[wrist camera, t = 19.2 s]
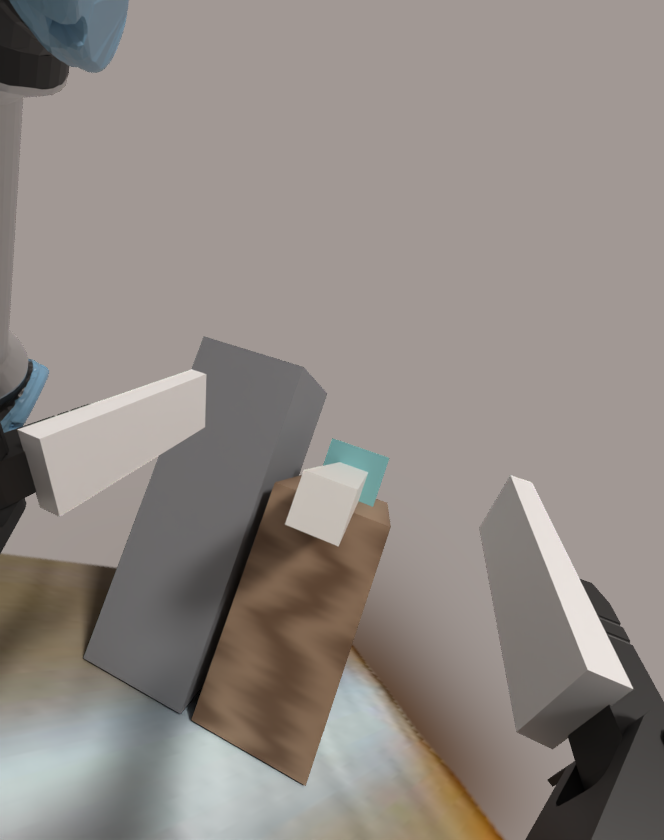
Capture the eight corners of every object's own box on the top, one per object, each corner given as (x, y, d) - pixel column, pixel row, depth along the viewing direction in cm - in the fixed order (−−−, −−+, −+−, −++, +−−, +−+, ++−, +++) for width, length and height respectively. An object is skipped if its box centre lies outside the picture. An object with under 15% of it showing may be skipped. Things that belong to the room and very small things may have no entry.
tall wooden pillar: (191, 720, 25) (274, 482, 26) (252, 634, 37) (308, 473, 38) (305, 785, 23) (390, 527, 24) (331, 673, 35) (387, 502, 36)
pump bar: (259, 513, 16) (290, 425, 17) (326, 480, 37) (339, 440, 37) (366, 558, 15) (398, 462, 16) (374, 498, 36) (387, 457, 36)
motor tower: (83, 658, 27) (203, 336, 28) (174, 595, 39) (255, 370, 40) (180, 713, 25) (303, 367, 26) (244, 630, 37) (327, 393, 38)
